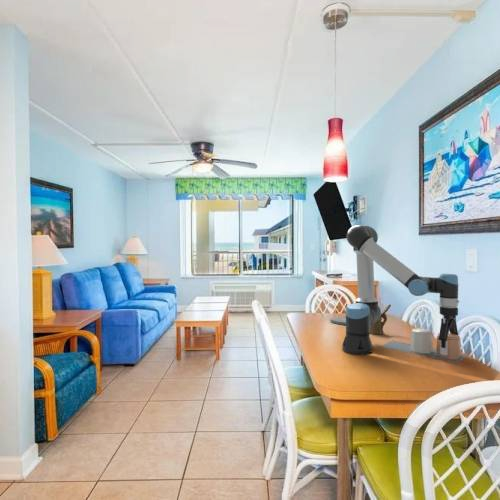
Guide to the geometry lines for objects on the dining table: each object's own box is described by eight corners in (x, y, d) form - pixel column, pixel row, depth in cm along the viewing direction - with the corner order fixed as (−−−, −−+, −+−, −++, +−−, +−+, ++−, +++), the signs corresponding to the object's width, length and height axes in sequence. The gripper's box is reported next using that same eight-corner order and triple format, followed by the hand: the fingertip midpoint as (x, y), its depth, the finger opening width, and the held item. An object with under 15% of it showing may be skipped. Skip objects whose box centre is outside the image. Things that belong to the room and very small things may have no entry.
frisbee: (329, 319, 252) (329, 315, 252) (368, 320, 247) (368, 317, 247) (331, 325, 232) (331, 321, 232) (372, 327, 227) (372, 323, 227)
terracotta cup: (456, 360, 156) (456, 338, 156) (434, 356, 162) (435, 335, 162) (461, 356, 162) (462, 335, 162) (441, 352, 169) (441, 331, 168)
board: (457, 366, 152) (457, 363, 152) (379, 349, 178) (379, 346, 178) (467, 358, 163) (467, 355, 163) (392, 343, 189) (392, 340, 189)
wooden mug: (391, 335, 205) (392, 305, 205) (368, 334, 209) (368, 304, 208) (389, 332, 214) (390, 303, 213) (367, 330, 217) (367, 302, 217)
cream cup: (428, 354, 164) (428, 333, 164) (408, 350, 171) (408, 330, 171) (434, 350, 171) (434, 330, 171) (415, 346, 177) (415, 327, 177)
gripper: (449, 311, 150) (449, 359, 151) (465, 304, 168) (464, 347, 168) (431, 308, 156) (430, 355, 156) (448, 302, 173) (447, 344, 174)
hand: (448, 351), depth 162 cm, fingers open, 13 cm apart
